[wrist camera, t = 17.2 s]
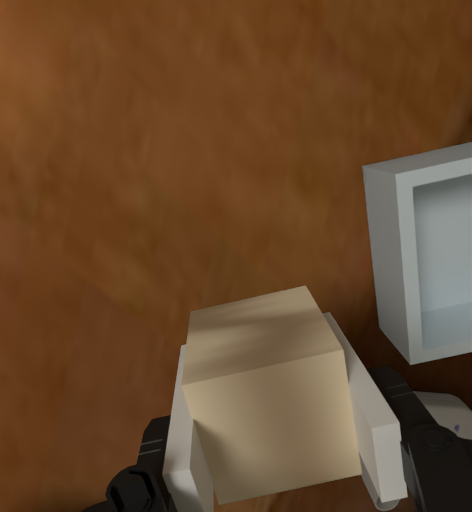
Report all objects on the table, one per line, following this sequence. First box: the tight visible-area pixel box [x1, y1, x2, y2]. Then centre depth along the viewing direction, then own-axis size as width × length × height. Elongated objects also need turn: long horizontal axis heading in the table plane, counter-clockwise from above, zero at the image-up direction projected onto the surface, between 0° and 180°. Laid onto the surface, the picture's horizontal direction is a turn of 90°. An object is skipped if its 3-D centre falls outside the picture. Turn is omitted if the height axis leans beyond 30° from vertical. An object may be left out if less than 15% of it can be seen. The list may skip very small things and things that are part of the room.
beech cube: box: [181, 286, 362, 505], centre depth 15 cm, size 5×5×5 cm
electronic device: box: [359, 391, 472, 511], centre depth 32 cm, size 5×10×15 cm
